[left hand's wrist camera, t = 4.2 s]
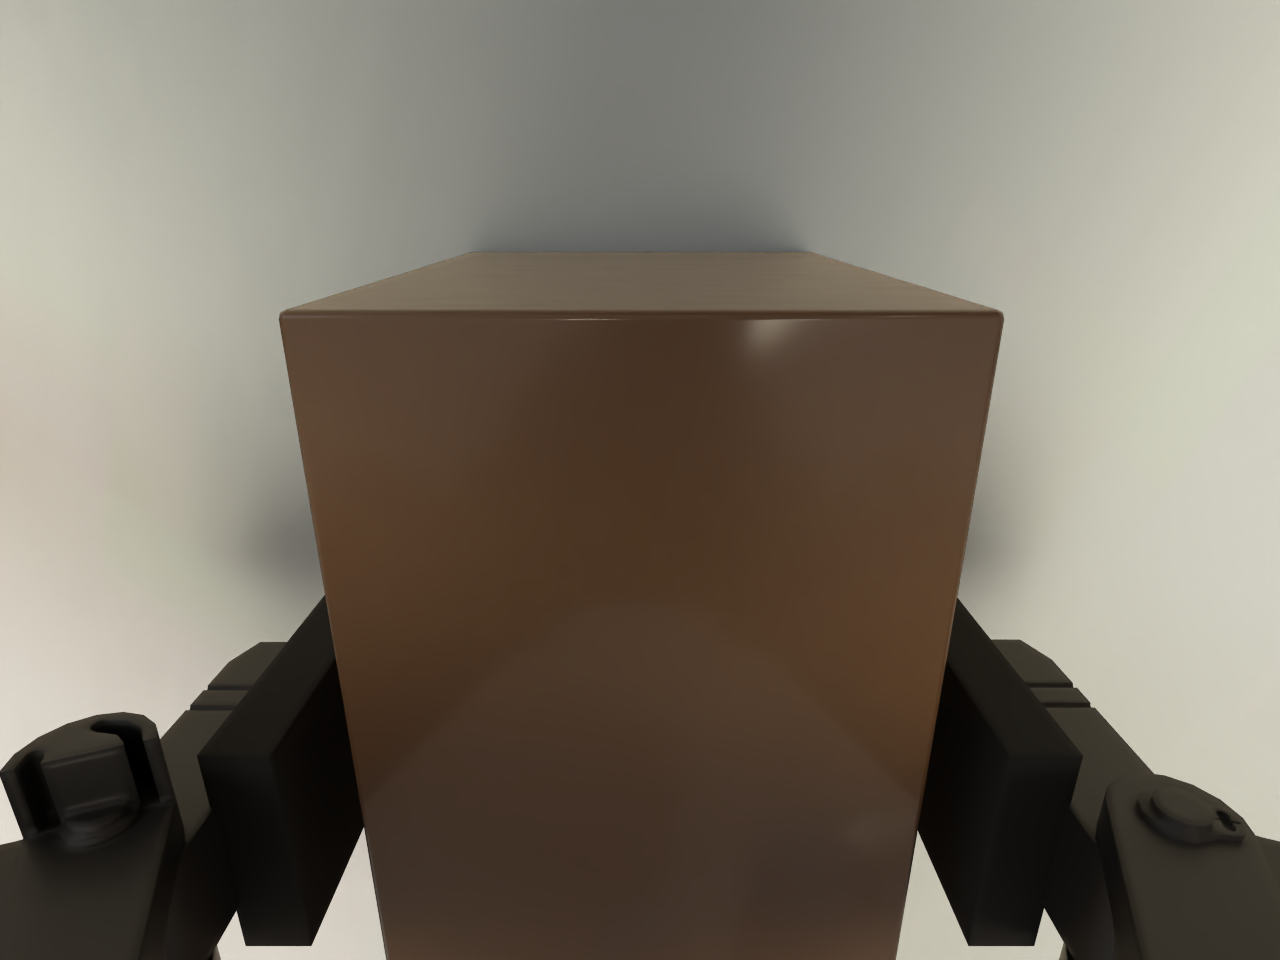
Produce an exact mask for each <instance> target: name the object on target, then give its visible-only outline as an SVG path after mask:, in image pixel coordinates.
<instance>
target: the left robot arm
mask: <svg viewBox="0 0 1280 960" xmlns="http://www.w3.org/2000/svg"><path fill="white" fill-rule="evenodd" d="M0 778H1V780H2V783H3V785H4V788H5V791H6V793H7V796H8V799H9V801H10V804H11V807H12V809H13V812H14V815H15V817H16V820H17V823H18V825H19V828H20V831H21V833H22V836H23V840H19V841H16V842H11V843H7V844H3V845H0V960H221V959H220V955H219V951H218V948H217V944H218V942H219V940H220V938H221V937H222V935H223V933H224V931H225V930H226V928H227V926H228V924H229V923H230V921H231V919H232V917H233V916H234V914H235V912H236V910H237V914H238V917H239V921H240V925H241V929H242V933H243V937H244V941H245V945H246V946H312V943H313V941H314V939H315V936H316V934H317V932H318V930H319V927H320V925H321V923H322V921H323V918H324V916H325V914H326V912H327V909H328V907H329V905H330V902H331V900H332V898H333V896H334V893H335V891H336V889H337V887H338V884H339V882H340V880H341V877H342V875H343V873H344V871H345V868H346V866H347V864H348V862H349V859H350V857H351V855H352V853H353V850H354V848H355V846H356V843H357V841H358V839H359V837H360V834H361V832H362V830H363V828H364V823H363V817H362V811H361V805H360V799H359V793H358V787H357V781H356V775H355V769H354V763H353V757H352V751H351V745H350V739H349V734H348V728H347V722H346V716H345V710H344V704H343V698H342V692H341V686H340V680H339V674H338V668H337V662H336V656H335V650H334V644H333V638H332V632H331V626H330V620H329V614H328V608H327V602H326V596H325V595H324V597H323V598H322V599H321V601H320V602H319V603H318V604H317V606H316V607H315V608H314V609H313V611H312V612H311V613H310V614H309V616H308V617H307V618H306V619H305V621H304V622H303V623H302V624H301V626H300V627H299V628H298V629H297V631H296V632H295V633H294V634H293V636H292V637H291V638H290V639H289V641H288V642H260V643H258V644H257V645H255V646H254V647H252V648H250V649H249V650H247V651H246V652H244V653H243V654H241V655H239V656H238V657H236V658H235V659H233V660H232V661H230V662H229V663H228V664H227V665H226V666H225V667H224V668H223V669H222V670H221V672H220V673H219V674H218V675H217V676H216V677H215V678H214V679H213V681H212V682H211V683H210V684H209V685H208V690H204V691H203V692H202V693H201V694H200V695H199V696H198V697H197V699H196V700H195V701H194V702H193V703H192V704H191V705H190V710H186V711H185V712H184V713H183V714H182V715H181V717H180V718H179V719H178V720H177V721H176V722H175V723H174V724H173V725H172V727H171V728H170V729H169V730H168V731H167V732H166V733H165V734H164V736H163V737H162V738H161V739H160V738H159V735H158V731H157V727H156V724H155V723H154V722H152V721H151V720H150V719H148V718H147V717H146V716H144V715H140V714H133V713H126V712H119V713H110V714H102V715H95V716H92V717H88V718H85V719H82V720H78V721H75V722H71V723H68V724H66V725H64V726H61V727H59V728H57V729H55V730H53V731H51V732H49V733H47V734H44V735H42V736H40V737H38V738H37V739H35V740H34V741H32V742H31V743H30V744H28V745H27V746H25V747H24V748H23V749H21V750H20V751H18V752H17V753H15V754H14V755H13V756H12V758H11V759H10V760H9V761H8V762H7V763H6V765H5V766H4V767H3V768H2V769H1V771H0ZM918 832H919V834H920V837H921V839H922V841H923V843H924V846H925V848H926V850H927V852H928V855H929V857H930V859H931V862H932V864H933V866H934V868H935V871H936V873H937V875H938V877H939V880H940V882H941V884H942V887H943V889H944V891H945V893H946V896H947V898H948V900H949V902H950V905H951V907H952V909H953V911H954V914H955V916H956V918H957V921H958V923H959V925H960V927H961V930H962V932H963V934H964V936H965V939H966V941H967V943H968V946H1034V945H1035V941H1036V937H1037V933H1038V929H1039V925H1040V921H1041V918H1042V914H1043V910H1044V908H1045V910H1046V912H1047V913H1048V915H1049V917H1050V919H1051V920H1052V922H1053V924H1054V926H1055V927H1056V929H1057V931H1058V933H1059V934H1060V936H1061V938H1062V940H1063V941H1064V944H1063V948H1062V951H1061V955H1060V958H1059V960H1280V842H1279V841H1275V840H1270V839H1266V838H1262V837H1259V836H1255V834H1254V833H1253V831H1252V830H1251V829H1250V827H1249V826H1248V825H1247V823H1246V822H1245V820H1244V819H1243V818H1242V817H1241V816H1240V815H1238V814H1237V813H1236V812H1235V811H1234V810H1232V809H1231V808H1230V807H1229V806H1227V805H1226V804H1225V803H1224V802H1222V801H1221V800H1220V799H1218V798H1216V797H1214V796H1212V795H1211V794H1209V793H1207V792H1205V791H1203V790H1201V789H1199V788H1198V787H1196V786H1194V785H1191V784H1188V783H1185V782H1182V781H1179V780H1176V779H1173V778H1170V777H1167V776H1164V775H1156V774H1154V773H1153V772H1152V771H1151V770H1150V769H1149V768H1148V767H1147V766H1146V764H1145V763H1144V762H1143V761H1142V760H1141V759H1140V758H1139V757H1138V755H1137V754H1136V753H1135V752H1134V751H1133V750H1132V749H1131V748H1130V747H1129V745H1128V744H1127V743H1126V742H1125V741H1124V740H1123V739H1122V738H1121V736H1120V735H1119V734H1118V733H1117V732H1116V731H1115V730H1114V729H1113V728H1112V726H1111V725H1110V724H1109V723H1108V722H1107V721H1106V720H1105V719H1104V717H1103V716H1102V715H1101V714H1100V713H1099V712H1098V711H1097V710H1096V709H1095V708H1091V706H1090V702H1089V701H1088V700H1087V699H1086V697H1085V696H1084V695H1083V694H1082V693H1081V692H1080V691H1079V690H1078V688H1073V683H1072V682H1071V681H1070V680H1069V678H1068V677H1067V676H1066V675H1065V674H1064V673H1063V672H1062V671H1061V669H1060V668H1059V667H1058V666H1057V665H1056V664H1055V663H1054V662H1053V661H1052V660H1051V659H1050V658H1048V657H1047V656H1045V655H1043V654H1042V653H1040V652H1039V651H1037V650H1036V649H1034V648H1032V647H1031V646H1029V645H1028V644H1026V643H1024V642H1023V641H1021V640H991V639H990V638H989V637H988V636H987V634H986V633H985V632H984V631H983V629H982V628H981V627H980V626H979V624H978V623H977V622H976V621H975V619H974V618H973V617H972V616H971V614H970V613H969V612H968V611H967V609H966V608H965V607H964V606H963V604H962V603H961V602H960V600H959V599H958V598H957V600H956V606H955V612H954V618H953V624H952V630H951V636H950V642H949V647H948V653H947V659H946V665H945V671H944V677H943V683H942V689H941V695H940V701H939V707H938V712H937V718H936V724H935V730H934V736H933V742H932V748H931V754H930V760H929V766H928V772H927V777H926V783H925V789H924V795H923V801H922V807H921V813H920V819H919V825H918Z"/></svg>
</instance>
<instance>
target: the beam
mask: <svg viewBox="0 0 1280 960" xmlns="http://www.w3.org/2000/svg"><path fill="white" fill-rule="evenodd" d="M279 322H280V328H281V334H282V340H283V346H284V352H285V358H286V364H287V370H288V376H289V382H290V388H291V394H292V400H293V406H294V412H295V418H296V424H297V430H298V436H299V442H300V448H301V453H302V459H303V465H304V471H305V477H306V483H307V489H308V495H309V501H310V507H311V513H312V519H313V525H314V531H315V537H316V543H317V549H318V555H319V561H320V567H321V573H322V579H323V585H324V591H325V596H326V602H327V608H328V614H329V620H330V626H331V632H332V638H333V644H334V650H335V656H336V662H337V668H338V674H339V680H340V686H341V692H342V698H343V704H344V710H345V716H346V722H347V728H348V734H349V739H350V745H351V751H352V757H353V763H354V769H355V775H356V781H357V787H358V793H359V799H360V805H361V811H362V817H363V823H364V829H365V835H366V841H367V847H368V853H369V859H370V865H371V871H372V877H373V883H374V888H375V894H376V900H377V906H378V912H379V918H380V924H381V930H382V936H383V942H384V948H385V954H386V960H896V955H897V949H898V943H899V937H900V931H901V925H902V919H903V913H904V907H905V902H906V896H907V890H908V884H909V878H910V872H911V866H912V860H913V854H914V848H915V842H916V837H917V831H918V825H919V819H920V813H921V807H922V801H923V795H924V789H925V783H926V777H927V772H928V766H929V760H930V754H931V748H932V742H933V736H934V730H935V724H936V718H937V712H938V707H939V701H940V695H941V689H942V683H943V677H944V671H945V665H946V659H947V653H948V647H949V642H950V636H951V630H952V624H953V618H954V612H955V606H956V600H957V594H958V588H959V582H960V577H961V571H962V565H963V559H964V553H965V547H966V541H967V535H968V529H969V523H970V517H971V511H972V506H973V500H974V494H975V488H976V482H977V476H978V470H979V464H980V458H981V452H982V446H983V441H984V435H985V429H986V423H987V417H988V411H989V405H990V399H991V393H992V387H993V381H994V376H995V370H996V364H997V358H998V352H999V346H1000V340H1001V334H1002V328H1003V322H1004V317H1003V313H1002V312H1000V311H998V310H996V309H992V308H989V307H986V306H983V305H980V304H976V303H973V302H970V301H967V300H963V299H960V298H957V297H954V296H950V295H947V294H944V293H941V292H937V291H934V290H931V289H928V288H924V287H921V286H918V285H915V284H912V283H908V282H905V281H902V280H899V279H895V278H892V277H889V276H886V275H882V274H879V273H876V272H873V271H869V270H866V269H863V268H860V267H856V266H853V265H850V264H847V263H843V262H840V261H837V260H834V259H831V258H827V257H824V256H821V255H818V254H814V253H811V252H470V253H467V254H464V255H461V256H458V257H454V258H451V259H448V260H445V261H441V262H438V263H435V264H432V265H429V266H425V267H422V268H419V269H416V270H413V271H409V272H406V273H403V274H400V275H396V276H393V277H390V278H387V279H384V280H380V281H377V282H374V283H371V284H368V285H364V286H361V287H358V288H355V289H352V290H348V291H345V292H342V293H339V294H335V295H332V296H329V297H326V298H323V299H319V300H316V301H313V302H310V303H307V304H303V305H300V306H297V307H294V308H290V309H287V310H285V311H283V312H281V313H280V317H279Z"/></svg>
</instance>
